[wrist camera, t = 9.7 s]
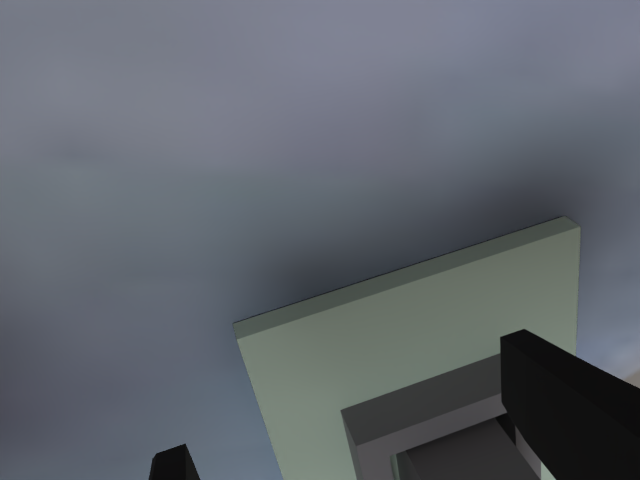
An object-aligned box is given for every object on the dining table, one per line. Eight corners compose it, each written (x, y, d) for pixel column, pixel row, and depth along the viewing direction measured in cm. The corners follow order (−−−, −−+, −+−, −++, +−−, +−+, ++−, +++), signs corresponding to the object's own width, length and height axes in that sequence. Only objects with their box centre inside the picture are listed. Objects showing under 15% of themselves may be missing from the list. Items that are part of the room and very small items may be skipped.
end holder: (321, 589, 31) (338, 648, 29) (232, 323, 22) (245, 375, 20) (557, 494, 33) (593, 542, 31) (565, 215, 24) (616, 249, 22)
